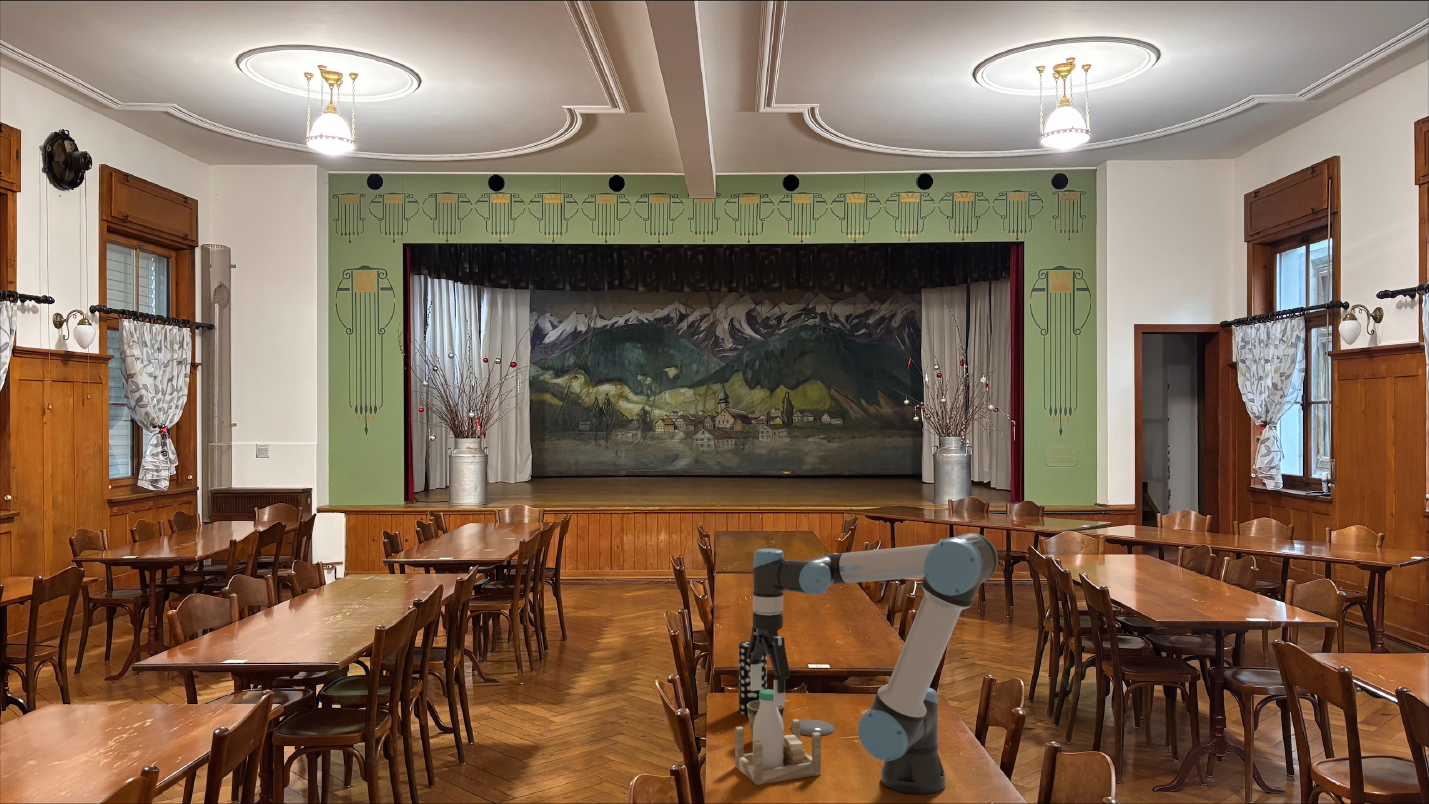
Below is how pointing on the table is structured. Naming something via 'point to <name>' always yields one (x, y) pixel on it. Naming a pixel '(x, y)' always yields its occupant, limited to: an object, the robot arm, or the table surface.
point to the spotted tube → (749, 678)
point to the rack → (777, 773)
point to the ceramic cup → (753, 710)
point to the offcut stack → (793, 750)
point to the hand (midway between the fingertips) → (767, 697)
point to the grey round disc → (815, 727)
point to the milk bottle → (769, 731)
